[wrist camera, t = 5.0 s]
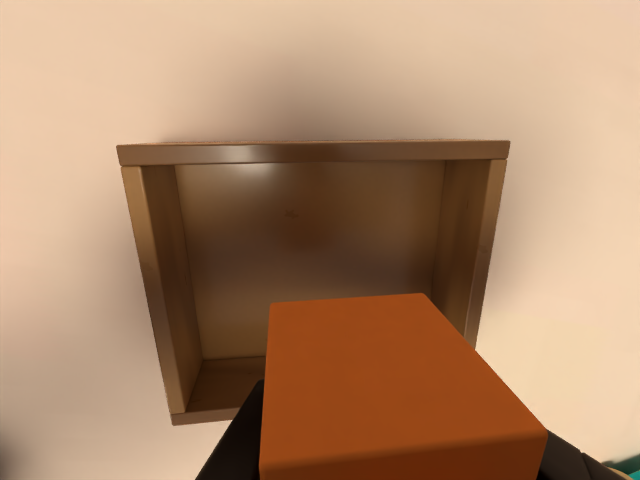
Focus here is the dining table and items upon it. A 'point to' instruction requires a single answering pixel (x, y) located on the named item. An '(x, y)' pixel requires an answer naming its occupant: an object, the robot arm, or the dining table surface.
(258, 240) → the wooden box
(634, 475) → the toy train
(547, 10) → the dining table surface
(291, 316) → the toy bear
